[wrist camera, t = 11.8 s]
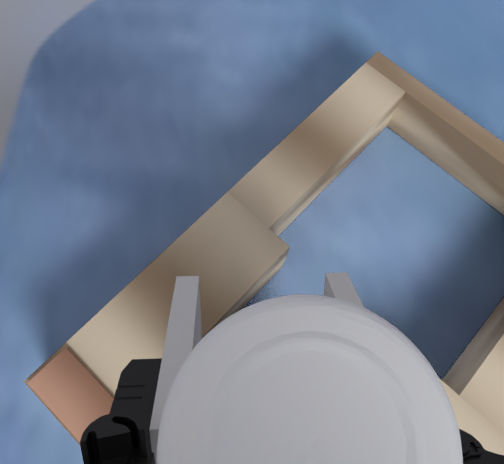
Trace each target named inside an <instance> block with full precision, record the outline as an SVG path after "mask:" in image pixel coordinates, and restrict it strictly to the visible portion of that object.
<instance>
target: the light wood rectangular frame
mask: <svg viewBox="0 0 504 464" xmlns="http://www.w3.org/2000/svg"><path fill="white" fill-rule="evenodd" d="M386 126H387V127H389V128H390V129H391V130H393V131H394V132H395V133H397V134H398V135H399V136H400V137H402V138H403V139H404V140H406V141H407V142H408V143H410V144H411V145H412V146H414V147H415V148H416V149H417V150H419V151H420V152H421V153H423V154H424V155H425V156H427V157H428V158H429V159H430V160H432V161H433V162H434V163H436V164H437V165H438V166H440V167H441V168H442V169H444V170H445V171H446V172H447V173H449V174H450V175H451V176H453V177H454V178H455V179H457V180H458V181H459V182H461V183H462V184H463V185H464V186H466V187H467V188H468V189H470V190H471V191H472V192H474V193H475V194H476V195H478V196H479V197H480V198H481V199H483V200H484V201H485V202H487V203H488V204H489V205H491V206H492V207H493V208H495V209H496V210H497V211H498V212H500V213H501V214H502V215H504V143H503V142H502V141H501V140H499V139H498V138H496V137H495V136H494V135H492V134H491V133H490V132H488V131H487V130H485V129H484V128H483V127H481V126H480V125H479V124H477V123H476V122H474V121H473V120H472V119H470V118H469V117H468V116H466V115H465V114H463V113H462V112H461V111H459V110H458V109H457V108H455V107H454V106H452V105H451V104H450V103H448V102H447V101H446V100H444V99H443V98H441V97H440V96H439V95H437V94H436V93H435V92H433V91H432V90H430V89H429V88H428V87H426V86H425V85H424V84H422V83H421V82H419V81H418V80H417V79H415V78H414V77H413V76H411V75H410V74H408V73H407V72H406V71H404V70H403V69H402V68H400V67H399V66H397V65H396V64H395V63H393V62H392V61H391V60H389V59H388V58H386V57H385V56H384V55H382V54H381V53H380V52H377V53H375V54H374V55H373V56H372V57H371V58H370V59H369V60H368V61H367V62H366V63H365V64H364V65H363V66H362V67H360V68H359V69H358V70H357V71H356V72H355V73H354V74H353V75H352V76H351V77H350V78H349V79H348V80H347V81H345V82H344V83H343V84H342V85H341V86H340V87H339V88H338V89H337V90H336V91H335V92H334V93H333V94H332V95H330V96H329V97H328V98H327V99H326V100H325V101H324V102H323V103H322V104H321V105H320V106H319V107H318V108H317V109H315V110H314V111H313V112H312V113H311V114H310V115H309V116H308V117H307V118H306V119H305V120H304V121H303V122H302V123H300V124H299V125H298V126H297V127H296V128H295V129H294V130H293V131H292V132H291V133H290V134H289V135H288V136H287V137H285V138H284V139H283V140H282V141H281V142H280V143H279V144H278V145H277V146H276V147H275V148H274V149H273V150H272V151H270V152H269V153H268V154H267V155H266V156H265V157H264V158H263V159H262V160H261V161H260V162H259V163H258V164H257V165H255V166H254V167H253V168H252V169H251V170H250V171H249V172H248V173H247V174H246V175H245V176H244V177H243V178H242V179H240V180H239V181H238V182H237V183H236V184H235V185H234V186H233V187H232V188H231V189H230V190H229V191H228V192H227V193H225V194H224V195H223V196H222V197H221V198H220V199H219V200H218V201H217V202H216V203H215V204H214V205H213V206H212V207H210V208H209V209H208V210H207V211H206V212H205V213H204V214H203V215H202V216H201V217H200V218H199V219H198V220H197V221H195V222H194V223H193V224H192V225H191V226H190V227H189V228H188V229H187V230H186V231H185V232H184V233H183V234H182V235H180V236H179V237H178V238H177V239H176V240H175V241H174V242H173V243H172V244H171V245H170V246H169V247H168V248H167V249H165V250H164V251H163V252H162V253H161V254H160V255H159V256H158V257H157V258H156V259H155V260H154V261H153V262H152V263H150V264H149V265H148V266H147V267H146V268H145V269H144V270H143V271H142V272H141V273H140V274H139V275H138V276H136V277H135V278H134V279H133V280H132V281H131V282H130V283H129V284H128V285H127V286H126V287H125V288H124V289H123V290H121V291H120V292H119V293H118V294H117V295H116V296H115V297H114V298H113V299H112V300H111V301H110V302H109V303H108V304H106V305H105V306H104V307H103V308H102V309H101V310H100V311H99V312H98V313H97V314H96V315H95V316H94V317H93V318H91V319H90V320H89V321H88V322H87V323H86V324H85V325H84V326H83V327H82V328H81V329H80V330H79V331H78V332H76V333H75V334H74V335H73V336H72V337H71V338H70V339H69V340H68V341H67V342H66V343H65V344H64V345H63V346H61V347H60V348H59V349H58V350H57V351H56V352H55V353H54V354H53V355H52V356H51V357H50V358H49V359H48V360H46V361H45V362H44V363H43V364H42V365H41V366H40V367H39V368H38V369H37V370H36V371H35V372H34V373H33V374H31V375H30V376H29V377H28V378H27V379H26V380H25V381H24V382H25V383H26V385H27V386H28V387H29V388H30V389H31V390H32V391H33V392H34V394H35V395H36V396H37V397H38V398H39V399H40V400H41V402H42V403H43V404H44V405H45V406H46V407H47V408H48V410H49V411H50V412H51V413H52V414H53V415H54V416H55V417H56V419H57V420H58V421H59V422H60V423H61V424H62V425H63V427H64V428H65V429H66V430H67V431H68V432H69V433H70V434H71V436H72V437H73V438H74V439H75V440H76V441H77V442H78V444H79V445H80V440H81V437H82V434H83V432H84V430H85V429H86V428H87V427H88V426H89V424H90V423H92V422H93V421H95V420H96V419H98V418H99V417H101V416H104V415H107V414H109V413H110V410H111V406H112V403H113V401H114V396H115V392H116V389H117V385H118V382H119V378H120V374H121V372H122V370H123V369H124V368H125V367H126V366H127V365H128V363H129V362H130V361H131V360H132V359H158V358H162V355H163V350H164V344H165V338H166V333H167V327H168V321H169V316H170V310H171V305H172V299H173V293H174V288H175V282H176V276H199V287H200V310H201V332H202V338H203V337H204V336H205V335H206V334H207V333H209V332H210V331H211V330H212V329H213V328H214V327H216V326H217V325H218V324H219V323H220V322H222V321H223V320H225V319H226V318H228V317H229V316H231V315H232V314H234V313H236V312H238V311H239V310H241V309H242V308H243V307H244V306H245V305H246V304H247V303H248V302H249V301H250V300H251V299H252V298H253V297H254V296H255V295H256V294H257V293H258V292H259V291H260V290H261V288H262V287H263V286H264V285H265V284H266V283H267V282H268V281H269V280H270V279H271V278H272V277H273V276H274V275H275V274H276V273H277V272H278V271H279V270H280V269H281V268H282V266H283V264H284V261H285V258H286V256H287V253H288V250H289V247H290V246H288V245H287V244H286V243H285V242H284V241H283V240H282V239H281V238H279V237H278V236H279V235H280V234H281V233H282V232H283V231H284V230H285V229H286V228H287V227H288V226H289V225H290V224H291V223H292V222H293V221H294V219H295V218H296V217H297V216H298V215H299V214H300V213H301V212H302V211H303V210H304V209H305V208H306V207H307V206H308V205H309V204H310V203H311V202H312V201H313V200H314V199H315V198H316V197H317V196H318V195H319V194H320V193H321V192H322V191H323V190H324V189H325V188H326V187H327V186H328V185H329V184H330V183H331V182H332V181H333V180H334V179H335V178H336V177H337V176H338V175H339V174H340V173H341V172H342V171H343V170H344V169H345V168H346V167H347V166H348V165H349V164H350V163H351V162H352V161H353V160H354V159H355V158H356V157H357V155H358V154H359V153H360V152H361V151H362V150H363V149H364V148H365V147H366V146H367V145H368V144H369V143H370V142H371V141H372V140H373V139H374V138H375V137H376V136H377V135H378V134H379V133H380V132H381V131H382V130H383V129H384V128H385V127H386ZM439 379H440V378H439ZM440 381H441V383H442V385H443V387H444V389H445V391H446V393H447V395H448V398H449V400H450V402H451V405H452V408H453V410H454V413H455V417H456V421H457V424H458V427H459V429H461V430H463V431H465V432H467V433H469V434H471V435H472V436H473V437H474V438H476V439H477V440H478V441H479V442H480V443H481V445H482V446H483V448H484V449H485V450H487V451H490V452H493V453H496V454H500V455H504V297H503V299H502V300H501V301H500V303H499V304H498V305H497V307H496V308H495V309H494V311H493V312H492V314H491V315H490V316H489V318H488V319H487V320H486V322H485V323H484V324H483V326H482V327H481V328H480V330H479V331H478V332H477V334H476V335H475V336H474V338H473V339H472V340H471V342H470V343H469V344H468V346H467V347H466V348H465V350H464V351H463V353H462V354H461V355H460V357H459V358H458V359H457V361H456V362H455V363H454V365H453V366H452V367H451V369H450V370H449V371H448V373H447V374H446V375H445V377H444V378H443V379H442V380H441V379H440Z"/></svg>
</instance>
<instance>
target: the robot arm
mask: <svg viewBox="0 0 504 464" xmlns="http://www.w3.org/2000/svg"><path fill="white" fill-rule="evenodd" d="M324 296H327V297H332V298H337V299H341V300H345V301H348V302H351V303H354V304H356V305H359V306H361V307H364V306H363V304H362V302H361V300H360V298H359V296H358V294H357V292H356V290H355V288H354V286H353V283H352V281H351V279H350V277H349V275H348V273H326V274H325V286H324ZM201 339H202V332H201V310H200V287H199V276H176V282H175V288H174V293H173V299H172V305H171V310H170V316H169V321H168V327H167V333H166V338H165V344H164V350H163V355H162V358H158V359H132V360H131V361H130V362H129V363H128V365H127V366H126V367H125V368H124V369H123V370H122V372H121V374H120V378H119V382H118V385H117V389H116V392H115V396H114V401H113V403H112V406H111V410H110V413H109V414H107V415H104V416H101V417H99V418H98V419H96V420H95V421H93V422H92V423H90V424H89V426H88V427H87V428H86V429H85V430H84V432H83V434H82V437H81V440H80V446H81V451H82V456H83V461H84V464H157V442H158V433H159V425H160V420H161V415H162V412H163V408H164V405H165V402H166V399H167V396H168V393H169V390H170V388H171V385H172V383H173V381H174V379H175V377H176V375H177V373H178V371H179V370H180V368H181V366H182V364H183V363H184V361H185V360H186V358H187V357H188V355H189V354H190V352H191V351H192V350H193V349H194V347H195V346H196V345H197V344H198V343H199V342H200V340H201ZM459 432H460V438H461V445H462V455H463V464H504V455H500V454H496V453H493V452H490V451H487V450H485V449H484V448H483V446H482V445H481V443H480V442H479V441H478V440H477V439H476V438H474V437H473V436H472V435H471V434H469V433H467V432H465V431H463V430H461V429H459Z"/></svg>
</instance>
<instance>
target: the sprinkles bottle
mask: <svg viewBox="0 0 504 464" xmlns="http://www.w3.org/2000/svg"><path fill="white" fill-rule="evenodd" d="M157 464H463V455H462V445H461V438H460V432H459V427H458V424H457V421H456V417H455V413H454V410H453V408H452V405H451V402H450V400H449V398H448V395H447V393H446V391H445V389H444V387H443V385H442V383H441V381H440V379H439V377H438V376H437V374H436V372H435V371H434V369H433V367H432V366H431V364H430V363H429V362H428V360H427V359H426V358H425V356H424V355H423V354H422V353H421V352H420V350H419V349H418V348H417V347H416V346H415V345H414V344H413V343H412V342H411V341H410V340H409V339H408V338H407V337H406V336H405V335H404V334H403V333H402V332H401V331H399V330H398V329H397V328H396V327H395V326H394V325H392V324H390V323H389V322H388V321H387V320H385V319H383V318H382V317H380V316H378V315H377V314H375V313H373V312H371V311H370V310H368V309H366V308H364V307H361V306H359V305H356V304H354V303H351V302H348V301H345V300H341V299H337V298H332V297H327V296H321V295H307V294H297V295H286V296H280V297H276V298H271V299H267V300H264V301H261V302H258V303H255V304H253V305H250V306H248V307H245V308H243V309H241V310H239V311H238V312H236V313H234V314H232V315H231V316H229V317H228V318H226V319H225V320H223V321H222V322H220V323H219V324H218V325H217V326H216V327H214V328H213V329H212V330H211V331H210V332H209V333H207V334H206V335H205V336H204V337H203V338H202V339H201V340H200V342H199V343H198V344H197V345H196V346H195V347H194V349H193V350H192V351H191V352H190V354H189V355H188V357H187V358H186V360H185V361H184V363H183V364H182V366H181V368H180V370H179V371H178V373H177V375H176V377H175V379H174V381H173V383H172V385H171V388H170V390H169V393H168V396H167V399H166V402H165V405H164V408H163V412H162V415H161V420H160V425H159V433H158V442H157Z"/></svg>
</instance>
